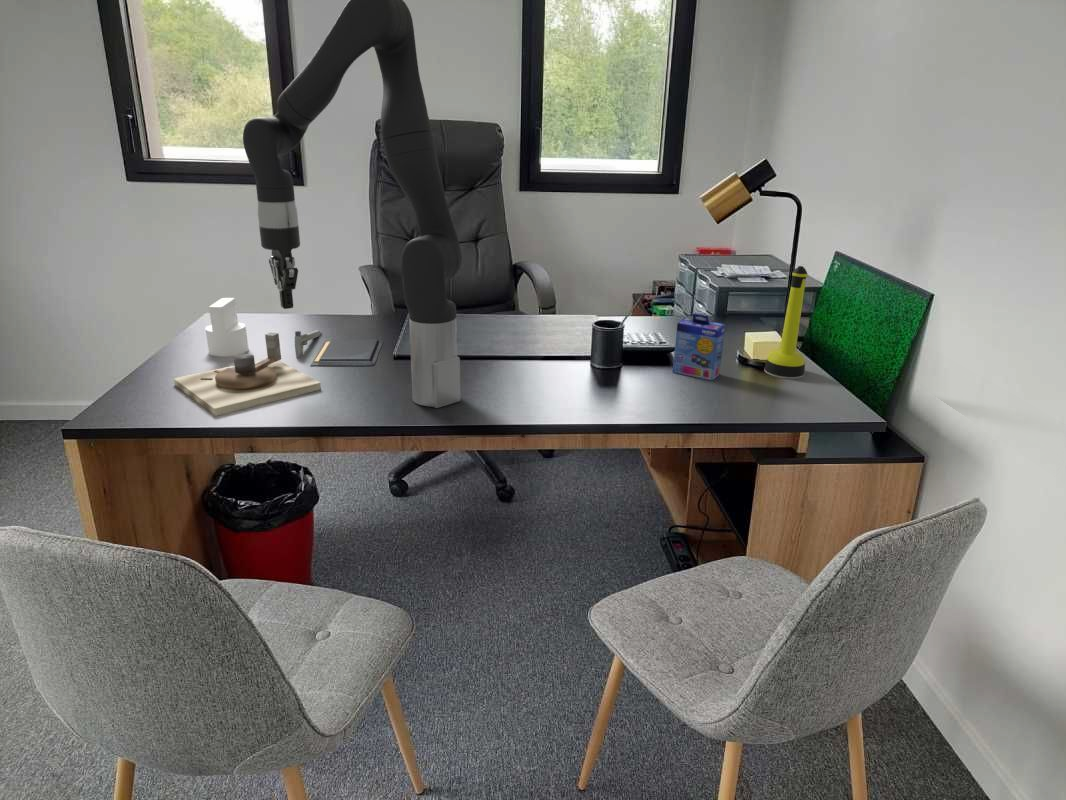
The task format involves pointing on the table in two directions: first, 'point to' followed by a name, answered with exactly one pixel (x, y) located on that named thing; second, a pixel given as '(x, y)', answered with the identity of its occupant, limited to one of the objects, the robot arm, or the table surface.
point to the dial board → (236, 399)
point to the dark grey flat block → (348, 353)
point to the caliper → (303, 340)
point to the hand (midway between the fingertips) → (287, 307)
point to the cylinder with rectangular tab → (226, 330)
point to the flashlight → (790, 334)
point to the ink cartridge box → (698, 347)
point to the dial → (252, 368)
